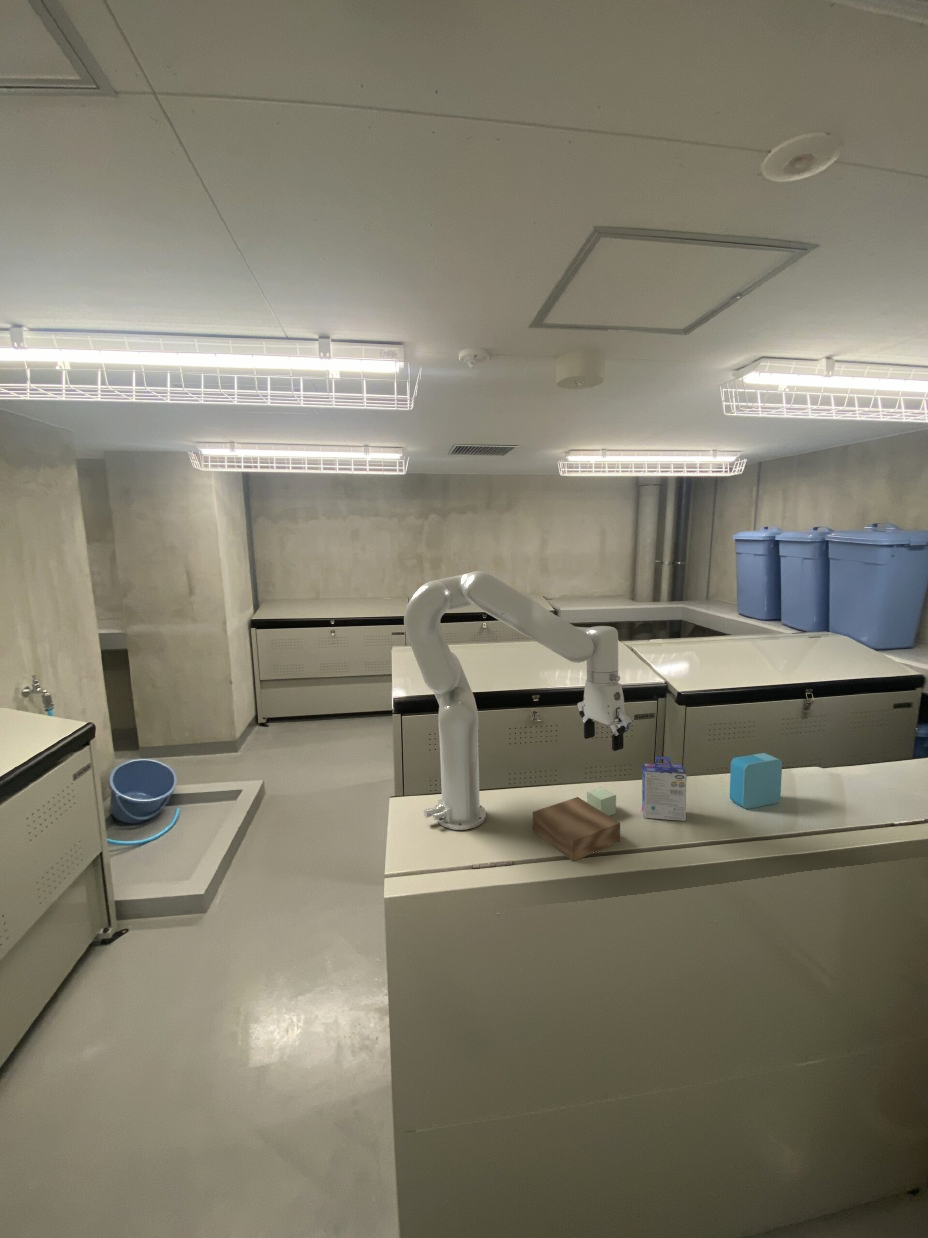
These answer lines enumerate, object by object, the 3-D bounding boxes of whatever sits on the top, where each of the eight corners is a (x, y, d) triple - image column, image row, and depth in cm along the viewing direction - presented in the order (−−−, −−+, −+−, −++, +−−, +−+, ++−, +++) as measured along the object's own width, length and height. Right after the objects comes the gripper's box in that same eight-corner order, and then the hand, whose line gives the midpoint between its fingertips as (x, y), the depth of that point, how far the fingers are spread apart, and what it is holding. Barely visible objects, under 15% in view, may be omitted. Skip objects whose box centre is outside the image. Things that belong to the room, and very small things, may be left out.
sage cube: (601, 819, 117) (601, 799, 117) (586, 810, 122) (587, 791, 121) (615, 813, 120) (616, 794, 119) (601, 805, 124) (601, 786, 124)
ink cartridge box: (681, 810, 120) (682, 755, 119) (687, 822, 115) (688, 764, 113) (640, 807, 122) (641, 753, 121) (644, 818, 117) (645, 762, 115)
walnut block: (572, 863, 101) (572, 841, 100) (532, 831, 113) (532, 812, 113) (620, 843, 108) (620, 822, 107) (577, 815, 120) (577, 797, 119)
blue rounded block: (765, 795, 127) (767, 752, 125) (780, 803, 123) (783, 758, 121) (728, 802, 124) (730, 758, 122) (743, 810, 119) (745, 764, 118)
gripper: (641, 681, 111) (641, 751, 113) (589, 668, 126) (590, 730, 128) (617, 686, 107) (618, 758, 109) (567, 672, 123) (568, 736, 125)
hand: (603, 743), depth 119 cm, fingers open, 9 cm apart
